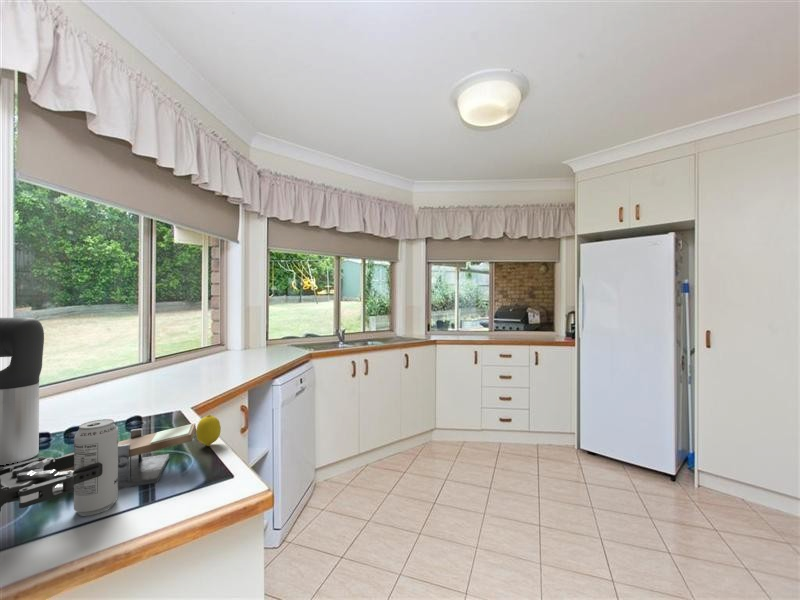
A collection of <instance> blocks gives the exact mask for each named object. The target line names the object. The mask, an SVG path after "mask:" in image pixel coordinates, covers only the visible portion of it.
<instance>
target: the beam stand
mask: <svg viewBox="0 0 800 600" xmlns="http://www.w3.org/2000/svg"><path fill="white" fill-rule="evenodd" d="M143 430H144V429H143V427H141V428H135V429H133V428H132V429H131V430H130V439H132V438H136V437H140V436H144V435H143V434H144V433H143V432H144V431H143ZM168 460H170V454H169V453H167V454H166V453H164V454H159V455H152V456H151V455H150V456H145V457H144V456H143V454H140V455H136V456H132V457H130V444H123V445H118V490H121V489H127V488H132V487H138V486H145V485H151V484H157V483H158V482H159V480H160V478H161V475H162V474H163V472H164V470H165V467H166V465H167V463H168Z"/></svg>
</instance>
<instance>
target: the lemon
mask: <svg viewBox="0 0 800 600" xmlns="http://www.w3.org/2000/svg"><path fill="white" fill-rule="evenodd" d="M221 427H222V426H221V423H220V421H219V419H218V418H217V417H216V416H214V415H211V414H207V415H206V416H204V417H202V418H201V419H200V420H199V421H198V423H197V425H196V431H195V434H196V438H197V441H198V442H199V443H201V444H203V445H205V446H206V447H210V446H211V445H212V444H213V443H215V442H217V440H218V439H219V437H220V435H221Z"/></svg>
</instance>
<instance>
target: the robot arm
mask: <svg viewBox="0 0 800 600" xmlns="http://www.w3.org/2000/svg"><path fill="white" fill-rule="evenodd" d="M44 331H45V330H44V327H43V325H42V323H41V321H40V320H39V319H37V318H34V317H0V358H10V361H9V364H8V366H7V367H5V368H3V369H1V370H0V465H4V467H3V466H1V467H0V513H1V511H2V507H3V506H4V505H5V504H9V503H12V502H18V508H19V509H24V508H27V507H31V506H33V505H37V504H40V503H43V502H47V501H49V500H53V499H55V498H59V497H62V496H65V495H69V494H71V493H74V484H78V483H81V482H84V481H87V480H90V479H93V478H96V477H99V476H101V475H102V472H103V465H102V464H101V463H99V462H98V463H94V464H91V465H88V466H84V467H81V468H78V469H74V470H70V471H64V472H57V471H61V470H64V469H67V468H71V467H74V452H71V453H72V454H70V453H68V454H69V455H66V454H64V455H62V456H59V457H55V458H54V457H47V458H46V456H39V457H36V456H38V455H39V451H40V450H39V445H40V444H39V443H40V441H39V439H40V438H39V437H40V376H41V372H42V368H43V357H44V356H43V355H44V347H45V346H44V343H45V332H44ZM35 457H36V458H35ZM32 458H33V459H32ZM17 462H18V463H17ZM12 463H14V464H12ZM6 464H9V465H6Z"/></svg>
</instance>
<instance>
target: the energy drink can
mask: <svg viewBox="0 0 800 600" xmlns="http://www.w3.org/2000/svg"><path fill="white" fill-rule="evenodd" d="M78 428H79V429H78V430H77V432H76V433H75V435H74V438H73V440H74V446H73V447H74V450H73V451H74V452H73V453H74V469H78V468H81V467H84V466H88V465H91V464H94V463H98V462H99V463H101V464H102V465H103V472H102V475H101V476H99V477H96V478H93V479H90V480H87V481H84V482H81V483H78V484H74V487H73V509H74V511H75V512H77V514H78V515H79V516H83V517H84V516H85V517H86V516H93V515H97V514H100V513H101V514H102V512H105V511H107V510H109V509H110V508H112V507H113V506H114V505H115V502H116V501H117V499H118V498H119V493H118V492H119V489H118V442H119V428H118V427H117V426H116V424H115V420H114V419H111V418H105V419H97V420H95V419H94V420H92V421H87V422H84V423H81V424H80V425H78Z"/></svg>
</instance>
